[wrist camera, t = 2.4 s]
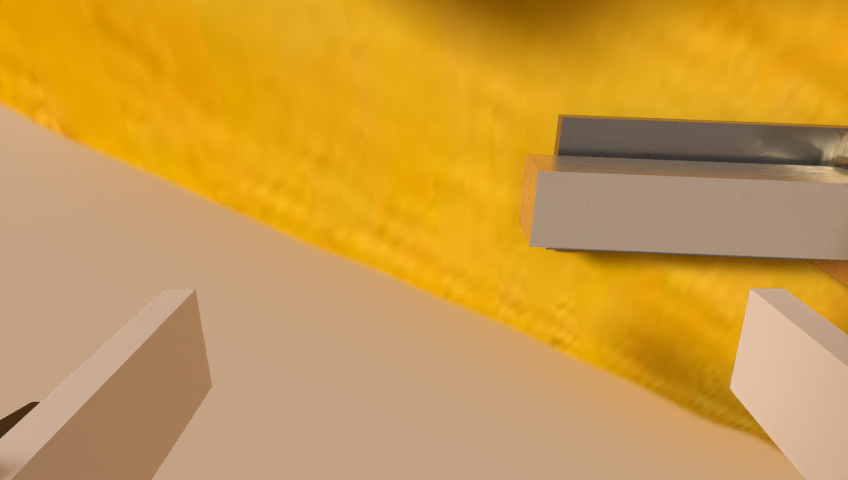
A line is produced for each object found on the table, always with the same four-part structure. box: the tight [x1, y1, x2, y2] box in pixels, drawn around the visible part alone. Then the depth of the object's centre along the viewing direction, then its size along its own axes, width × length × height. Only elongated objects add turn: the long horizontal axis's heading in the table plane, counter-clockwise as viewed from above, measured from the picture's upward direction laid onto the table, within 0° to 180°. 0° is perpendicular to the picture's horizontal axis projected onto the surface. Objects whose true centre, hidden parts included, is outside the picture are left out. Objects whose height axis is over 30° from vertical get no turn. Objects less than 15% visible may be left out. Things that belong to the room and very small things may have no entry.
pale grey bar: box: [519, 154, 848, 260], centre depth 29 cm, size 22×4×4 cm, turn 88°
